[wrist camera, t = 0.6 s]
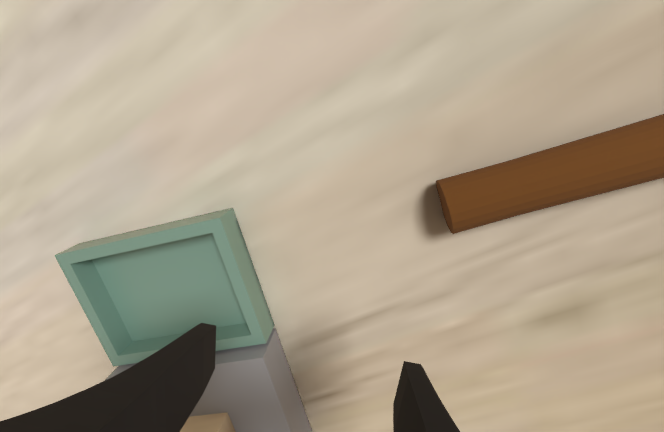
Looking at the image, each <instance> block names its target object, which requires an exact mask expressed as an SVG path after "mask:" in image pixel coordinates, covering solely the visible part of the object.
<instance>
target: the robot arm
mask: <svg viewBox="0 0 664 432" xmlns="http://www.w3.org/2000/svg"><path fill="white" fill-rule="evenodd" d="M215 353H216V325H211V324H205V323H200V324H198V325H197V326H195V327H194V328H192V329H191V330H189V331H188V332H186V333H185V334H183V335H182V336H180V337H179V338H177V339H175V340H174V341H172V342H171V343H169V344H168V345H166V346H165V347H163V348H162V349H160V350H158V351H157V352H155V353H154V354H152V355H150V356H149V357H147V358H145V359H144V360H142V361H140V362H139V363H137V364H135V365H133V366H132V367H130V368H128V369H126V370H125V371H123V372H121V373H119V374H117V375H115V376H113V377H111V378H109V379H107V380H105V381H103V382H101V383H99V384H97V385H95V386H93V387H91V388H88V389H86V390H84V391H81V392H79V393H77V394H74V395H72V396H70V397H67V398H65V399H63V400H60V401H58V402H55V403H53V404H50V405H47V406H45V407H42V408H39V409H36V410H34V411H31V412H28V413H25V414H22V415H19V416H16V417H13V418H10V419H7V420H4V421H0V432H180V430H181V429H182V427H183V426H184V424H185V422H186V421H187V419H188V418H189V416H190V414H191V413H192V411H193V410H194V408H195V406H196V405H197V403H198V401H199V400H200V398H201V396H202V395H203V393H204V391H205V389H206V387H207V385H208V383H209V380H210V378H211V376H212V374H213V372H214V370H215ZM393 422H394V432H460V431H459V429H458V428H457V426H456V425H455V423H454V422H453V420H452V418H451V417H450V415H449V413H448V412H447V410H446V409H445V407H444V405H443V404H442V402H441V400H440V398H439V397H438V395H437V393H436V391H435V390H434V388H433V386H432V384H431V382H430V380H429V378H428V376H427V375H426V373H425V371H424V369H423V367H422V366H421V364H416V363H411V362H405V361H404V364H403V368H402V372H401V376H400V380H399V384H398V388H397V392H396V396H395V400H394V414H393Z"/></svg>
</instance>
